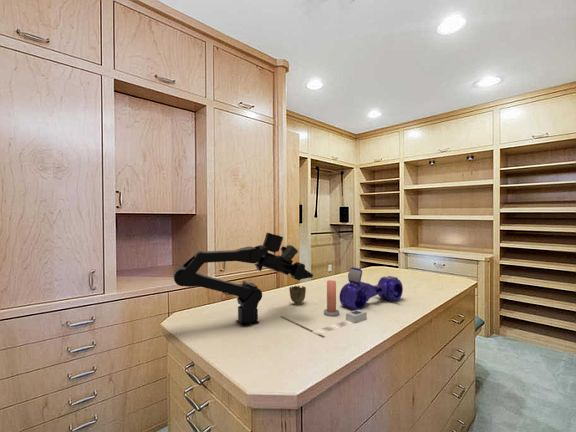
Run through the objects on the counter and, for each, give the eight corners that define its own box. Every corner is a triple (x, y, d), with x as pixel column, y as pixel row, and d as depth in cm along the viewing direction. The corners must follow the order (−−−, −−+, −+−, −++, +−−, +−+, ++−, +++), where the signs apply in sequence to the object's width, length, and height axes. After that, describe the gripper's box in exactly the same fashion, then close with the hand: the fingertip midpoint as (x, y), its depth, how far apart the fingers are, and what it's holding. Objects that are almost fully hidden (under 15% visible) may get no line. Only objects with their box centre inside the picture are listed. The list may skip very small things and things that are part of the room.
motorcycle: (357, 316, 115) (356, 272, 115) (333, 307, 126) (333, 267, 126) (409, 301, 134) (409, 263, 134) (385, 294, 145) (384, 260, 145)
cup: (286, 306, 127) (286, 288, 127) (293, 301, 133) (293, 284, 133) (301, 308, 123) (301, 290, 123) (308, 304, 130) (308, 286, 130)
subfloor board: (323, 340, 92) (323, 337, 92) (279, 318, 112) (279, 316, 112) (373, 322, 108) (373, 319, 108) (328, 306, 127) (328, 304, 127)
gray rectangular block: (354, 323, 105) (354, 315, 105) (346, 319, 108) (345, 312, 108) (366, 318, 109) (366, 311, 109) (358, 316, 112) (358, 309, 112)
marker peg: (331, 317, 110) (331, 283, 110) (320, 313, 115) (320, 281, 115) (342, 314, 114) (342, 281, 114) (331, 310, 119) (331, 279, 119)
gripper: (291, 245, 105) (325, 258, 111) (272, 241, 122) (302, 252, 128) (280, 274, 103) (316, 286, 109) (263, 266, 120) (294, 276, 126)
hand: (307, 273), depth 118 cm, fingers open, 9 cm apart
